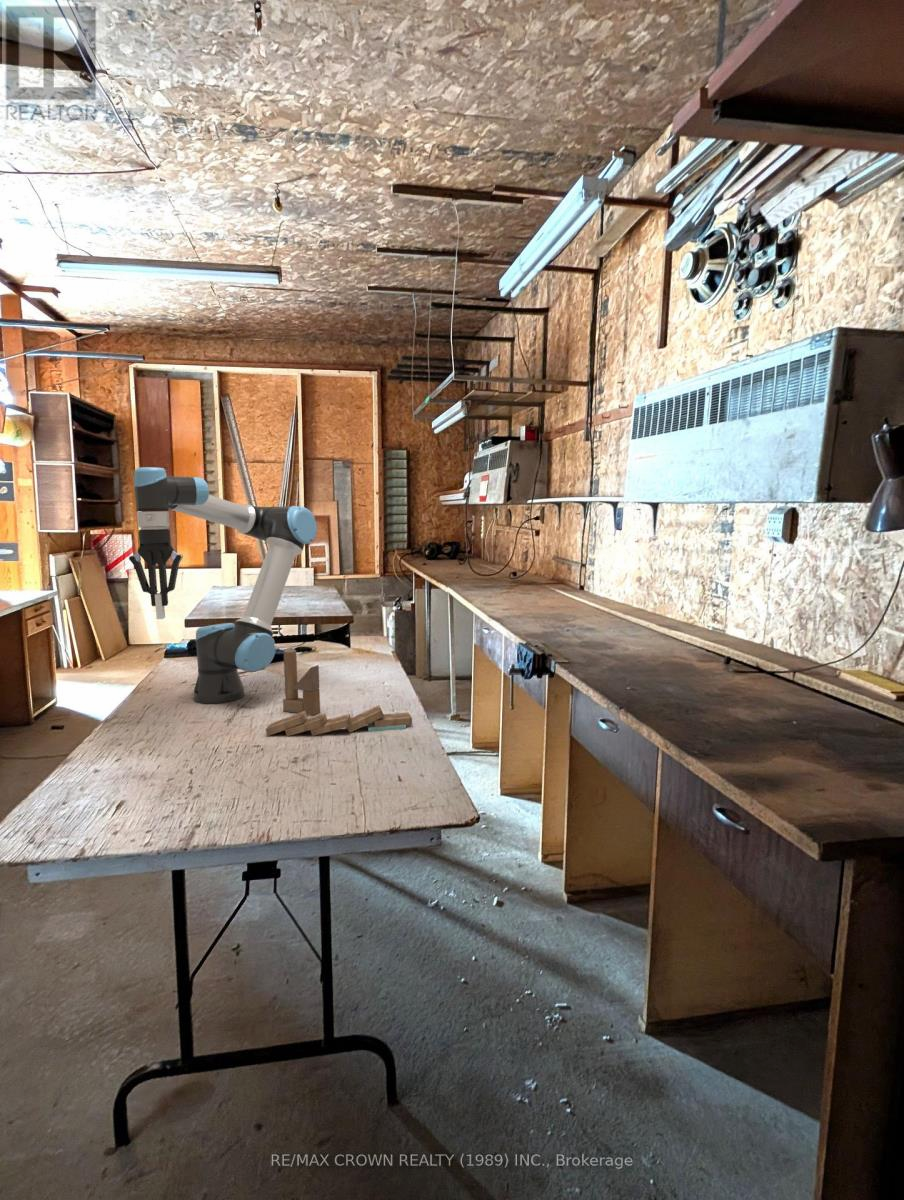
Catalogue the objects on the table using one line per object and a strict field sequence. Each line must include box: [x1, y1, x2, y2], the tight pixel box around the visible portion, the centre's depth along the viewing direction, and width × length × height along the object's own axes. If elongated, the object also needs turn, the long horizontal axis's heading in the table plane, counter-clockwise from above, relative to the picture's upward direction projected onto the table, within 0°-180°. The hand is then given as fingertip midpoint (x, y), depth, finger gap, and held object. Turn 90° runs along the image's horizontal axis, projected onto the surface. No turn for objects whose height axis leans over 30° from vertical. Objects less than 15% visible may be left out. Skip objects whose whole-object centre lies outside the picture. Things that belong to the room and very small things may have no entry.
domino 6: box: [366, 722, 407, 732], centre depth 176 cm, size 5×2×10 cm
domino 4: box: [346, 705, 384, 734], centre depth 175 cm, size 5×2×10 cm
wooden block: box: [282, 649, 321, 717], centre depth 189 cm, size 4×11×18 cm, turn 66°
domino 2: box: [284, 713, 328, 737], centre depth 171 cm, size 5×2×10 cm
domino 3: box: [310, 713, 352, 736], centre depth 172 cm, size 5×2×10 cm
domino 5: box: [373, 712, 413, 727], centre depth 176 cm, size 5×2×10 cm
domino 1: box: [265, 711, 308, 737], centre depth 172 cm, size 5×2×10 cm
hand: (160, 618), depth 172 cm, fingers closed
